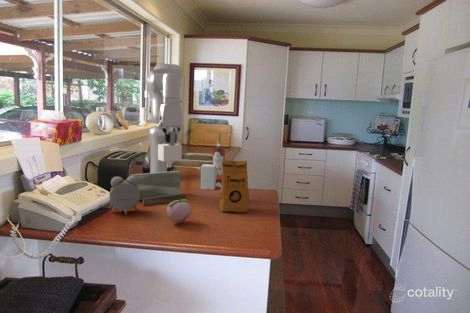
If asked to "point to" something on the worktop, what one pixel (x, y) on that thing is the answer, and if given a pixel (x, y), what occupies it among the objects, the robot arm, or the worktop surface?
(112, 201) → the alarm clock
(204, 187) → the supplement box
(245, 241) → the worktop surface
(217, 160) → the liquor
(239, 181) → the coffee package
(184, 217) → the decorative fruit
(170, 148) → the white block gray post
